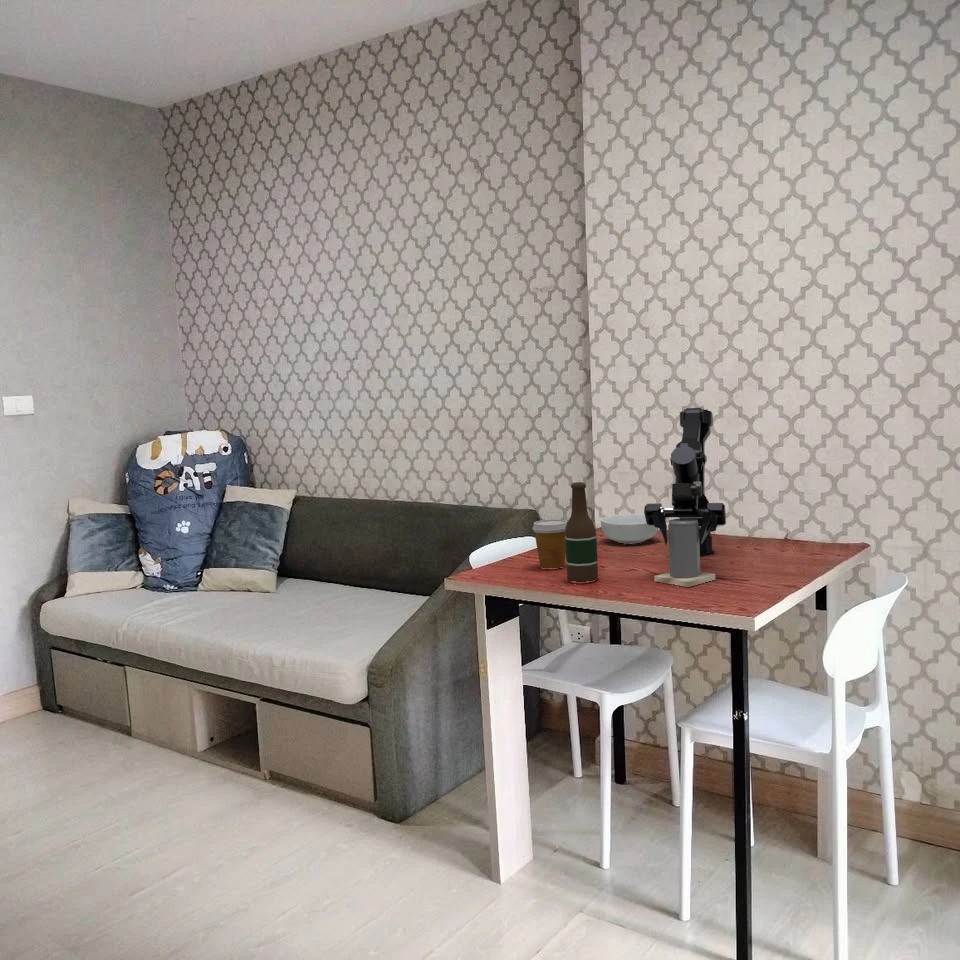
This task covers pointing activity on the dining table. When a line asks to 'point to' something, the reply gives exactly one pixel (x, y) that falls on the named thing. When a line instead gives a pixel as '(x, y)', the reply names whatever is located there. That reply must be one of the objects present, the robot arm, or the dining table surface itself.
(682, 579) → the birch base
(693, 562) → the charcoal can
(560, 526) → the disposable coffee cup
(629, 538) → the cereal bowl
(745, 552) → the dining table surface
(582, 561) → the beer bottle
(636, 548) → the dining table surface
